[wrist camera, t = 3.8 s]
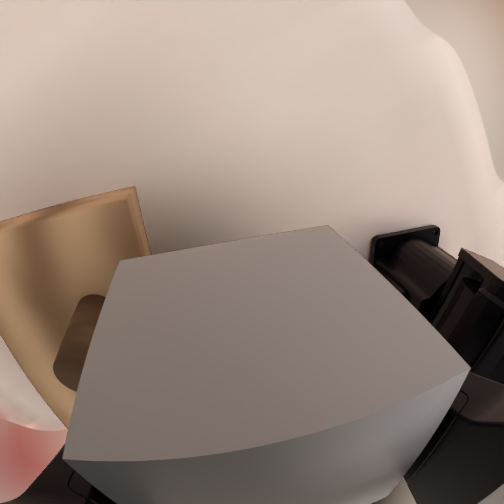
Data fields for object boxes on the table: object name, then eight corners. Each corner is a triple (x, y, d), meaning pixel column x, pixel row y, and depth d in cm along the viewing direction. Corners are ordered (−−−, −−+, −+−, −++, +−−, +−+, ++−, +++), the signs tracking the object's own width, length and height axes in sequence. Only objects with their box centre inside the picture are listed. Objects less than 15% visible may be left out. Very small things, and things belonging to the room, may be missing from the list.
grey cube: (328, 225, 9) (470, 367, 4) (322, 367, 12) (386, 496, 6) (119, 260, 8) (62, 459, 3) (171, 398, 11) (181, 543, 6)
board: (135, 186, 17) (99, 242, 10) (213, 439, 28) (224, 505, 21) (-19, 228, 15) (-86, 287, 8) (108, 447, 27) (105, 509, 20)
